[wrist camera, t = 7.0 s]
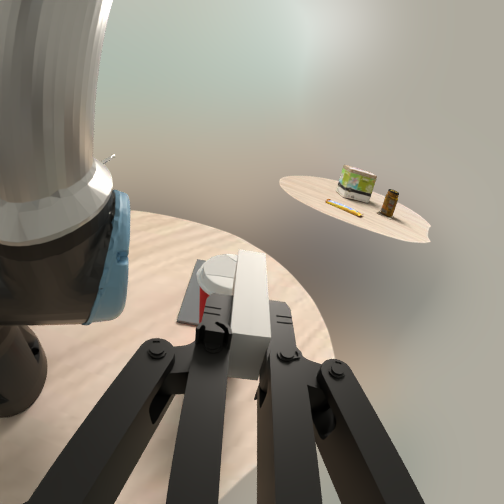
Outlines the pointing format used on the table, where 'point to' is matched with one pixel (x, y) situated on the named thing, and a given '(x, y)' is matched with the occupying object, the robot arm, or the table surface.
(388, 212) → the condiment
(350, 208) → the candy bar
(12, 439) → the table surface
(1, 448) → the table surface
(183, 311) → the mat
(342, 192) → the tea box
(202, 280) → the paper cup
